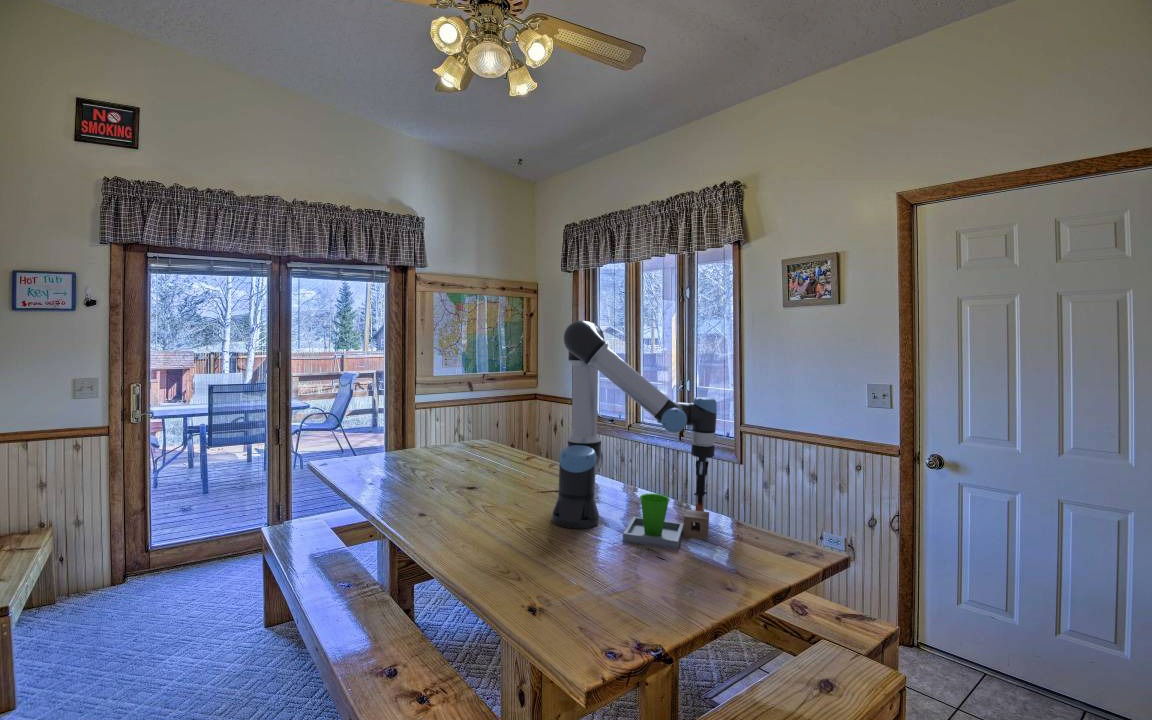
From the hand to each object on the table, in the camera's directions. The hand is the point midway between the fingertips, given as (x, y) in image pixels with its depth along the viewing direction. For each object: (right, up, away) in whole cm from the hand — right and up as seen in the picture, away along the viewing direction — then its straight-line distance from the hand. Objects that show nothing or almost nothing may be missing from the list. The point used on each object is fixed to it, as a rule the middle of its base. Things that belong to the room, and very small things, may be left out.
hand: (699, 513), depth 181 cm
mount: (-4, -2, -14) cm, 15 cm away
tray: (-18, -2, -17) cm, 24 cm away
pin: (-2, -1, -8) cm, 8 cm away
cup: (-18, -2, -16) cm, 24 cm away
